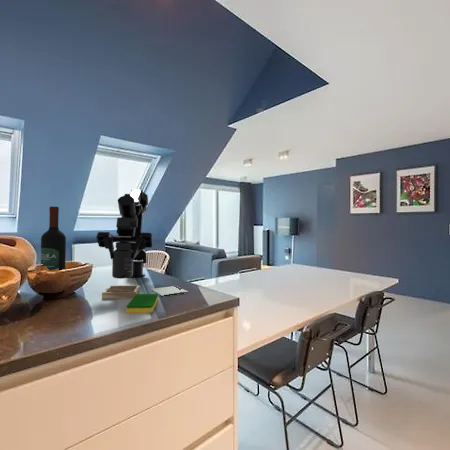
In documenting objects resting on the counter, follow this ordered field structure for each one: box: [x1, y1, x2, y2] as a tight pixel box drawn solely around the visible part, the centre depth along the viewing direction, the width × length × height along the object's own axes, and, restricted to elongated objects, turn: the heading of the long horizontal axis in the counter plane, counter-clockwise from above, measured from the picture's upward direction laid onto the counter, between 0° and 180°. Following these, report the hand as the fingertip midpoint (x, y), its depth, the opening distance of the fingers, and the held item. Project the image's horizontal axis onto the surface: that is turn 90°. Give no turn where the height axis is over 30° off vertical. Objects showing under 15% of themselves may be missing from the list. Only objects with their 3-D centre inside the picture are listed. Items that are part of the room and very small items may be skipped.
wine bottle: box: [40, 206, 67, 270], centre depth 101 cm, size 8×8×30 cm
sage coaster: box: [150, 285, 189, 297], centre depth 105 cm, size 10×10×1 cm
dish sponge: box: [125, 293, 159, 314], centre depth 87 cm, size 7×14×2 cm, turn 6°
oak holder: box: [101, 284, 141, 300], centre depth 99 cm, size 11×11×2 cm
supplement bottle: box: [111, 242, 134, 280], centre depth 99 cm, size 7×7×12 cm
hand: (122, 258), depth 98 cm, fingers closed on supplement bottle, 7 cm apart
